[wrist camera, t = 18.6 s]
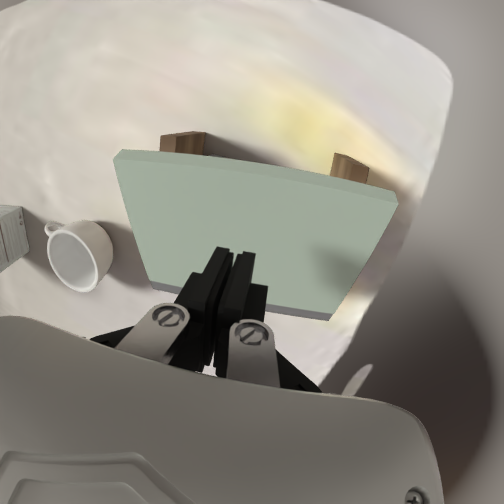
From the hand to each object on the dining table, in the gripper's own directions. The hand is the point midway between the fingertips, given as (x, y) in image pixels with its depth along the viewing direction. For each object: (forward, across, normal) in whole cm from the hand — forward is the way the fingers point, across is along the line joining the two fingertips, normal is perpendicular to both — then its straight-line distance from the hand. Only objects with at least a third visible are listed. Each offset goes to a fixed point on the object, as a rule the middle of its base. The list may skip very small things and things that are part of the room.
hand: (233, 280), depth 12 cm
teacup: (+16, +20, +8) cm, 27 cm away
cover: (+6, 0, +1) cm, 6 cm away
